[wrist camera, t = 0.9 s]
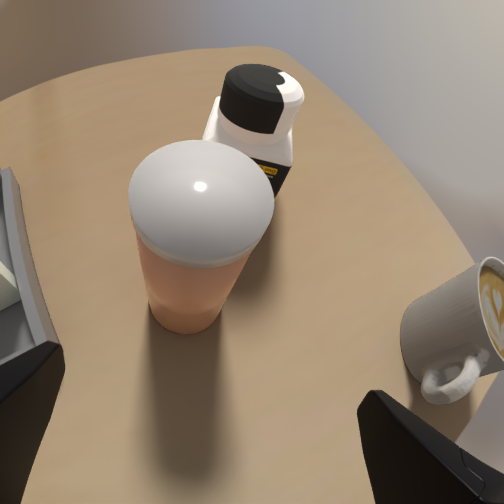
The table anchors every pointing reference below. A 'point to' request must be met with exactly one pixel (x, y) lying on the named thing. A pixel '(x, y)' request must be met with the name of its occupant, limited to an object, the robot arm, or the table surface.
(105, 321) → the table surface
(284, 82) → the medicine bottle
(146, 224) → the dome-lidded peach canister
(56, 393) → the robot arm
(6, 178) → the tray
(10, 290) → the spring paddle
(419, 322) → the coffee mug
